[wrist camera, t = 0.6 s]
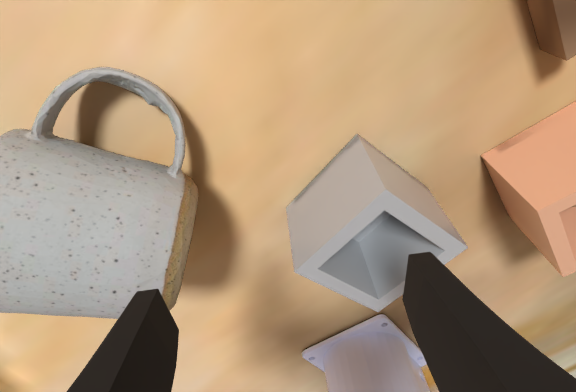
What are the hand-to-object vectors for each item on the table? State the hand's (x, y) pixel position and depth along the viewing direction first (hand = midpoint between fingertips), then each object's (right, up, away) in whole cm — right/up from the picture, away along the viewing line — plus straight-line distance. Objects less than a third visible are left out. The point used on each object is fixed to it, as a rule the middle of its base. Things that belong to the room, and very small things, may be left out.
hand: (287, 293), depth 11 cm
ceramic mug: (-9, +5, +8) cm, 13 cm away
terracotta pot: (+15, +5, +10) cm, 19 cm away
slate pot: (+4, +3, +11) cm, 12 cm away
